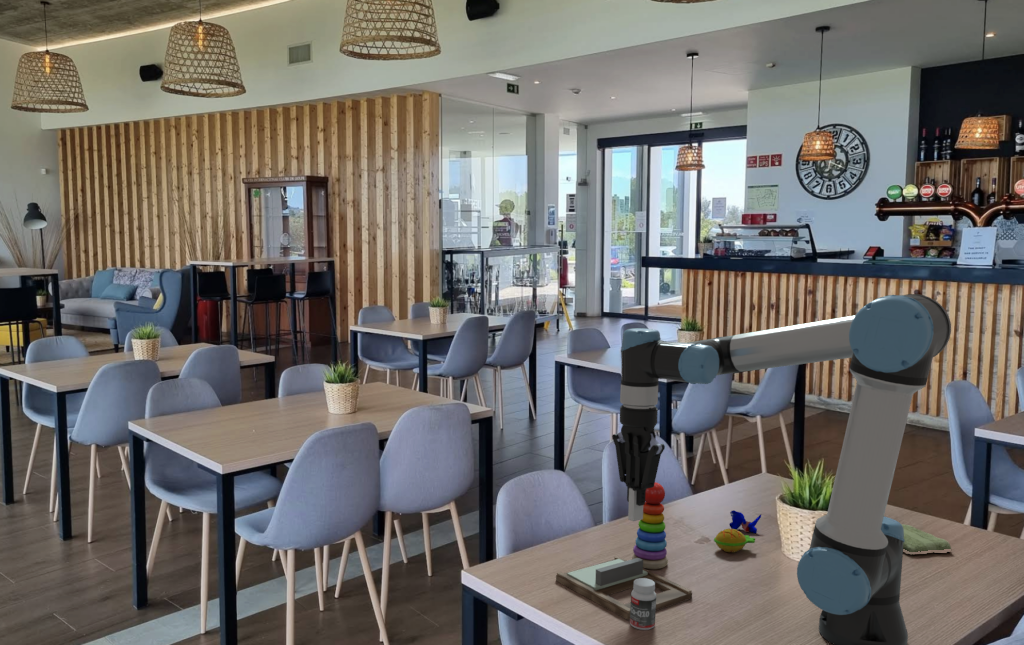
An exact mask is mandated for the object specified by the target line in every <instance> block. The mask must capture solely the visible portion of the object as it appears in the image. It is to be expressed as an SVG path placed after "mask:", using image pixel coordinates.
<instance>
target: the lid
mask: <svg viewBox="0 0 1024 645" xmlns="http://www.w3.org/2000/svg"><path fill="white" fill-rule="evenodd" d="M612 560H613V561H610V560H608V561H609V562H607V561H604V562H605V563H603V562H601V563H602V564H599V563H597V564H598V565H596V564H593V565H594V566H592V565H590V566H591V567H588V566H586V567H587V568H585V567H583V568H584V569H581V568H579V569H580V570H577V569H575V570H576V571H574V570H572V571H573V572H570V571H568V572H569V573H567V576H569V577H571V578H573V579H575V580H577V581H579V582H581V583H583V584H584V585H586V586H588V587H590V588H592V589H594V590H599V589H602V588H605V587H609V586H612V585H616V584H619V583H622V582H626V581H629V580H632V579H636V578H639V577H642V576H646V575H648V572H646V571H644V570H643V560H642V559H640V558H635V559H628V560H627V561H623V560H621V559H616V560H614V559H612Z"/></svg>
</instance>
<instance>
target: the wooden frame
mask: <svg viewBox="0 0 1024 645" xmlns="http://www.w3.org/2000/svg"><path fill="white" fill-rule="evenodd" d="M616 559H621V560H623V561H628V560H627V559H625V558H622V557H620V556H618V555H617V556H614V559H611V560H607V561H604V562H601V563H595V564H593V565H589V566H585V567H582V568H579V569H574V570H570V571H568V572H562V571H559V572H556V575H555V582H558V583H559V584H561V585H563V586H565V587H566V588H569V589H570V590H572V591H574V592H575V593H577V594H579V595H581V596H583V597H585V598H587V599H588V600H590V601H592V602H594V603H596V604H598V605H599V606H601V607H603V608H605V609H607V610H608V611H610V612H613V613H614V614H616V615H618V616H620V617H621V618H623V619H625V620H627V621H630V608H631V601H630V602H628V603H623V602H622V601H620V600H618V599H616V598H614V597H612V596H610V595H613V594H617V593H619V592H622V591H627V590H629V589H633V586H634V580H636V579H639V578H647V579H650V580H653V581H654V582H655V589H657V590H659V591H661V592H659V593H656V611H658V610H662V609H664V608H667V607H670V606H674V605H676V604H680V603H682V602H685V601H688V600H691V599H693V592H692V590H691V589H689V588H687V587H686V586H682V585H681V584H678V583H677V582H674V581H672V580H670V579H667V578H666V577H663V576H661V575H659V574H657V573H654V572H652V570H651V571H650V570H649V569H647V568H643V570H644V571H646V572H648V575H646V576H642V577H639V578H636V579H632V580H629V581H626V582H622V583H619V584H616V585H612V586H609V587H605V588H602V589H599V590H594V589H592V588H590V587H588V586H586V585H584V584H583V583H581V582H579V581H577V580H575V579H573V578H571V577H569V576H567V573H569V572H573V571H576V570H580V569H584V568H587V567H591V566H594V565H598V564H602V563H605V562H609V561H613V560H616Z"/></svg>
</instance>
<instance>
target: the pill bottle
mask: <svg viewBox="0 0 1024 645" xmlns="http://www.w3.org/2000/svg"><path fill="white" fill-rule="evenodd" d="M655 590H656V588H655V582H654V581H653V580H650V579H647V578H639V579H636V580H634V586H633V588H632V591H631V593H630V602H631V608H630V619H629V624H630V626H631V627H633V628H635V629H637V630H641V631H648V630H652V629H654V628H655V626H656V614H657V613H656V611H657V610H656V594H657V593H656V592H655Z"/></svg>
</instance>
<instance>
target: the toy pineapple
mask: <svg viewBox="0 0 1024 645" xmlns="http://www.w3.org/2000/svg"><path fill="white" fill-rule="evenodd" d="M713 541H714V542H715V544H716V546H717V547H718V548H719V549H720V550H721V551H724V552H726V553H736V552H739V551H741V550H743V548H744V547H745V546H746V545H747V544H755V543H756V538H755V537H751V536H750V535H746V534H745V535H744V533H742V532H741V531H739V530H738V529H737V530H736V529H731V528H725V529H723V530H721V531H719V532H718V533H717V534H716V536H715V537H714V539H713Z"/></svg>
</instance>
